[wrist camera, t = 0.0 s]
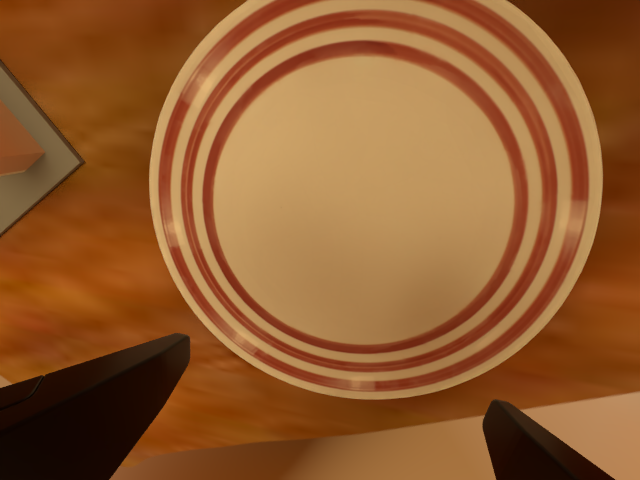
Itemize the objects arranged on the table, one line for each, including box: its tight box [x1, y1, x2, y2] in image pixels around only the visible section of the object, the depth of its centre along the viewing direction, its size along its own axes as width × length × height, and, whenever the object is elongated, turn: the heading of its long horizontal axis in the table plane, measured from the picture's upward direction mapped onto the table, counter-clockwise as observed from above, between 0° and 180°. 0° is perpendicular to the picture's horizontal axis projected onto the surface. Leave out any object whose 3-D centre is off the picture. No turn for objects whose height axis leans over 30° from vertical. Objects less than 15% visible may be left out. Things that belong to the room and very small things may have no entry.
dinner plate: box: [149, 0, 603, 400], centre depth 22 cm, size 27×27×3 cm
